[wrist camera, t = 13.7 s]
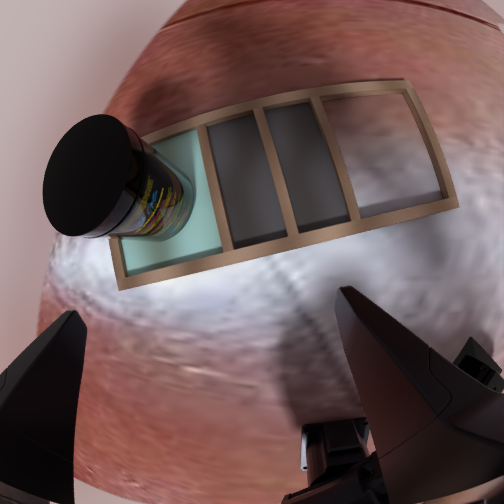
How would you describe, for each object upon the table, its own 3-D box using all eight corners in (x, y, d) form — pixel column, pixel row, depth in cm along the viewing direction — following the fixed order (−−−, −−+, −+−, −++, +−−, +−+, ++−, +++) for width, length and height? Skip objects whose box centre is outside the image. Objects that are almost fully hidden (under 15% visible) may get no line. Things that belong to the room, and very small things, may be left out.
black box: (423, 379, 20) (444, 400, 16) (466, 318, 20) (493, 328, 15) (473, 415, 19) (490, 432, 14) (507, 366, 18) (528, 378, 14)
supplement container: (206, 170, 21) (149, 112, 11) (187, 251, 22) (111, 250, 11) (139, 161, 22) (63, 116, 12) (120, 234, 22) (33, 224, 12)
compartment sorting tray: (406, 85, 20) (409, 80, 19) (453, 208, 19) (459, 207, 18) (105, 159, 23) (99, 156, 22) (124, 289, 23) (118, 290, 22)
